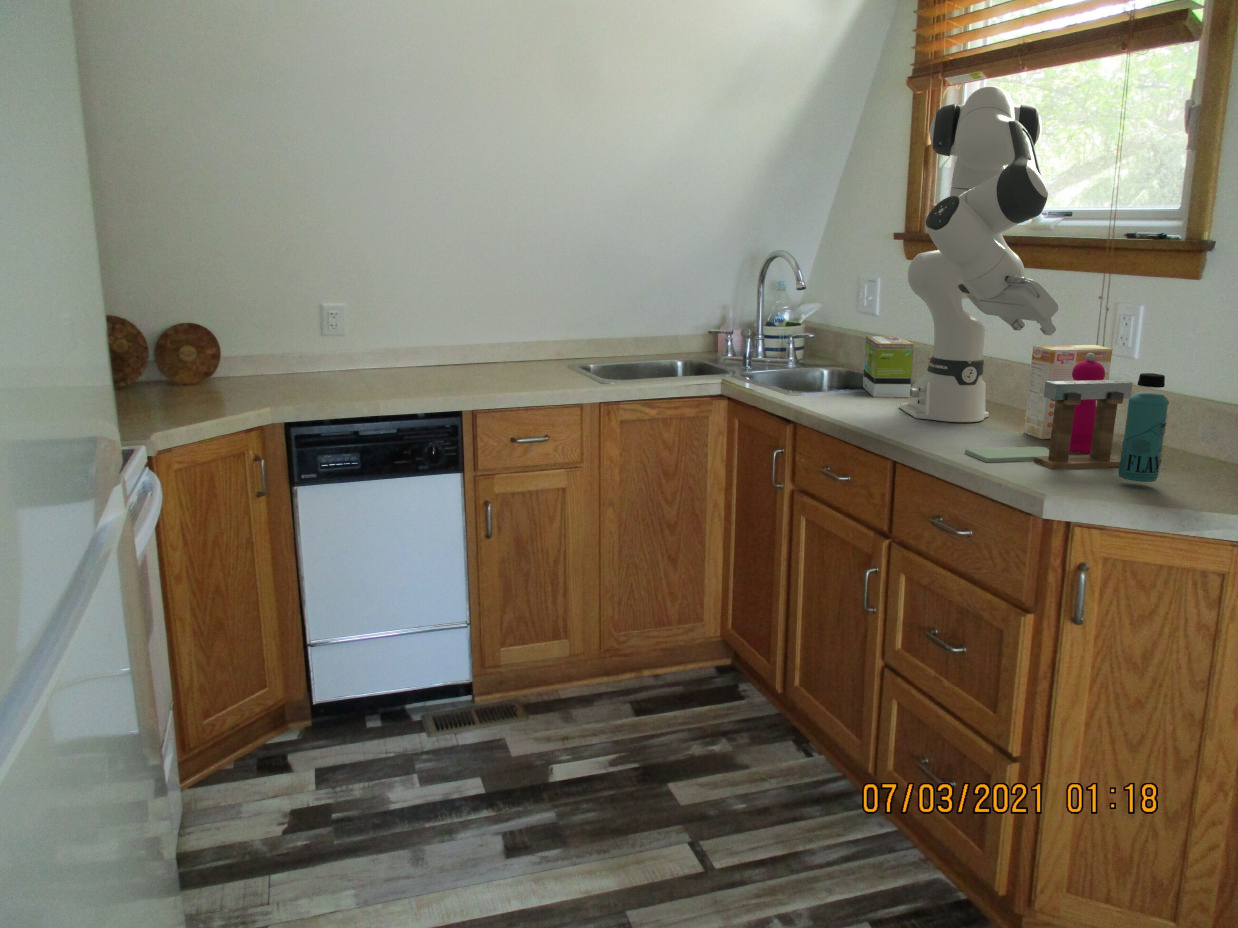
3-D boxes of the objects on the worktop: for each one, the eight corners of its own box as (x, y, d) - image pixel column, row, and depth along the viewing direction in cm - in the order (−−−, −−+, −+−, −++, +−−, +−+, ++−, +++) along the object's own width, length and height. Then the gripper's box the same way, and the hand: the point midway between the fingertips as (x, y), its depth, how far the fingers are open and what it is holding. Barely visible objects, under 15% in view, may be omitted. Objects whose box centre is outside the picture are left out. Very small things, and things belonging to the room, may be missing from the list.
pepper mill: (1087, 446, 204) (1099, 350, 200) (1105, 454, 197) (1118, 355, 192) (1053, 446, 204) (1064, 350, 199) (1069, 454, 197) (1082, 355, 192)
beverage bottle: (1117, 488, 172) (1133, 375, 167) (1114, 479, 178) (1129, 370, 173) (1159, 492, 169) (1177, 377, 164) (1154, 483, 175) (1170, 372, 171)
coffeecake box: (1081, 430, 220) (1092, 344, 215) (1102, 437, 213) (1114, 348, 209) (1021, 433, 217) (1031, 345, 212) (1041, 439, 210) (1052, 349, 206)
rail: (1043, 397, 186) (1045, 381, 185) (1117, 395, 189) (1120, 379, 188) (1054, 400, 182) (1056, 384, 182) (1130, 398, 185) (1132, 382, 185)
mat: (964, 453, 197) (965, 449, 197) (1040, 450, 200) (1041, 446, 200) (986, 462, 189) (987, 458, 189) (1065, 459, 192) (1065, 455, 192)
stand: (1034, 461, 190) (1042, 389, 187) (1102, 459, 193) (1112, 388, 190) (1053, 469, 184) (1062, 395, 181) (1123, 466, 187) (1133, 393, 184)
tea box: (861, 388, 274) (865, 335, 271) (897, 389, 274) (901, 336, 270) (872, 397, 260) (876, 341, 256) (910, 398, 259) (915, 342, 256)
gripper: (1040, 265, 166) (1084, 323, 170) (974, 262, 186) (1015, 314, 190) (1013, 291, 166) (1058, 348, 170) (950, 285, 186) (992, 337, 190)
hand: (1035, 330), depth 180 cm, fingers open, 8 cm apart
